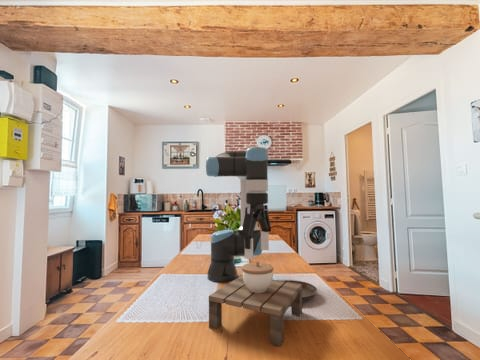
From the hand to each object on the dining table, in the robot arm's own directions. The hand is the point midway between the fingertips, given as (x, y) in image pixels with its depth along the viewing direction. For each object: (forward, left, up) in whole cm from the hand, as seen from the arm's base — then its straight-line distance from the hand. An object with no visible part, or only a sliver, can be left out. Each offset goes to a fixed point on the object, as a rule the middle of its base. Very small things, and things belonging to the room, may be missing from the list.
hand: (257, 254), depth 93 cm
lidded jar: (0, 0, -12) cm, 12 cm away
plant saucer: (-26, +4, -23) cm, 34 cm away
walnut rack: (0, 0, -22) cm, 22 cm away
